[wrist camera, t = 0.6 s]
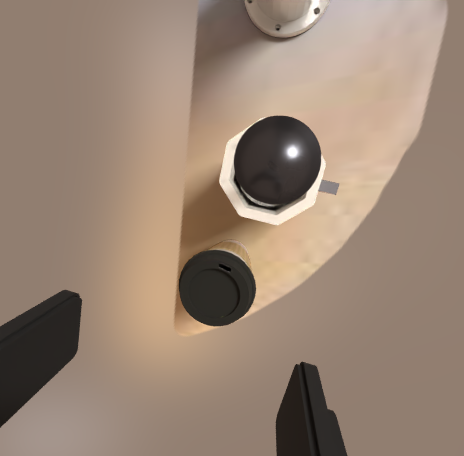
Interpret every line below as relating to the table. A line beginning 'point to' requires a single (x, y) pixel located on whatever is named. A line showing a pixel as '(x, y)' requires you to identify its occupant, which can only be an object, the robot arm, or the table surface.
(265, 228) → the table surface
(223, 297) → the coffee cup
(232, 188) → the coffee press
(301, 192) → the plunger
